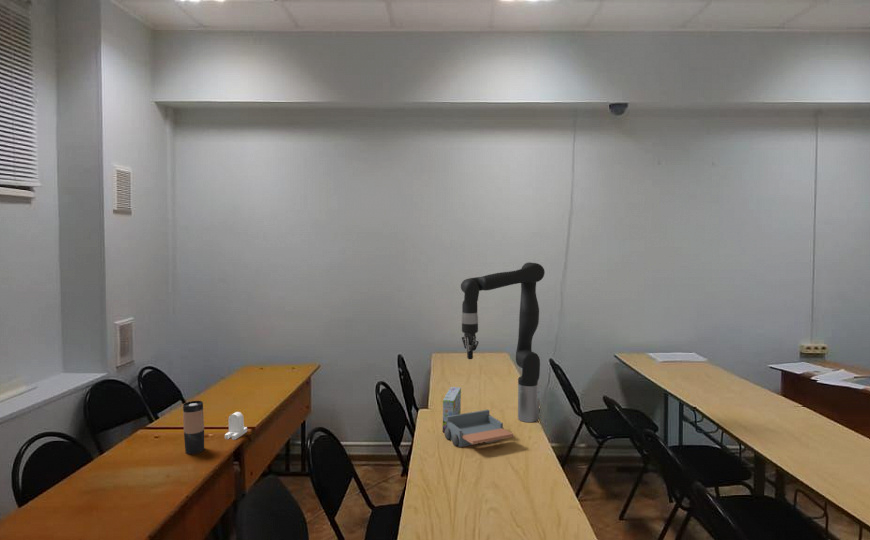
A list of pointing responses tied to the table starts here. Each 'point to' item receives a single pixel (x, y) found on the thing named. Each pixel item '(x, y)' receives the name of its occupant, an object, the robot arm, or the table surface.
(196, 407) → the travel mug
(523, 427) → the table surface
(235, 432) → the cable organizer
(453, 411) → the snack box
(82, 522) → the table surface
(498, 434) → the tailgate
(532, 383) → the robot arm
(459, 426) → the trailer
